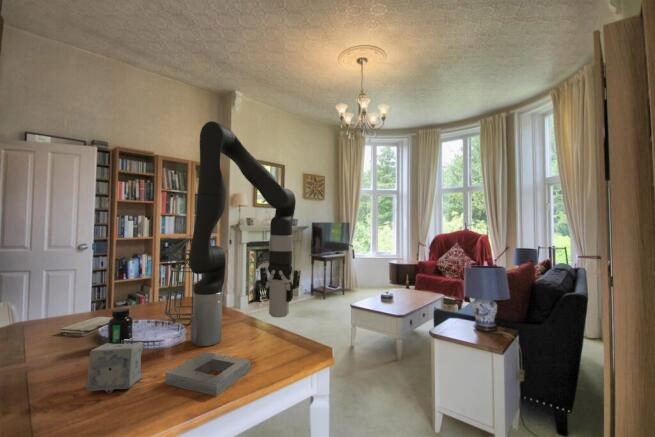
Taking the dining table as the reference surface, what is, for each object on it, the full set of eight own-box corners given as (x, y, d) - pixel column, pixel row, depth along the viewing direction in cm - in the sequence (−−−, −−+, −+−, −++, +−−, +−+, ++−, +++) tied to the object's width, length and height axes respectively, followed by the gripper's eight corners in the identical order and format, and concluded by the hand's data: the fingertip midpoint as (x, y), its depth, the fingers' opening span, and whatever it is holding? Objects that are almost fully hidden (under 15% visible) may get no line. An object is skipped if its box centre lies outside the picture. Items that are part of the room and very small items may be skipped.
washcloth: (55, 336, 114) (56, 328, 114) (98, 321, 132) (98, 314, 132) (84, 338, 113) (84, 330, 113) (124, 323, 130) (124, 315, 130)
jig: (165, 384, 81) (165, 372, 81) (204, 361, 94) (204, 351, 94) (216, 396, 75) (216, 383, 76) (250, 370, 89) (250, 360, 89)
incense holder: (143, 376, 85) (144, 337, 85) (129, 393, 77) (130, 350, 77) (103, 379, 83) (104, 339, 83) (84, 396, 75) (85, 352, 75)
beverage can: (284, 319, 99) (285, 280, 99) (265, 317, 100) (266, 279, 100) (291, 313, 105) (292, 277, 105) (273, 311, 106) (274, 276, 107)
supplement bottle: (118, 351, 101) (118, 313, 101) (102, 348, 103) (103, 311, 104) (137, 343, 108) (137, 308, 108) (122, 340, 110) (122, 306, 110)
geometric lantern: (173, 316, 138) (176, 236, 139) (210, 316, 140) (213, 237, 141) (157, 328, 122) (162, 238, 123) (199, 328, 124) (203, 239, 125)
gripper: (255, 248, 102) (253, 300, 102) (295, 251, 97) (294, 305, 97) (267, 247, 109) (265, 295, 109) (305, 249, 104) (304, 300, 104)
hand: (279, 300), depth 103 cm, fingers closed on beverage can, 6 cm apart
